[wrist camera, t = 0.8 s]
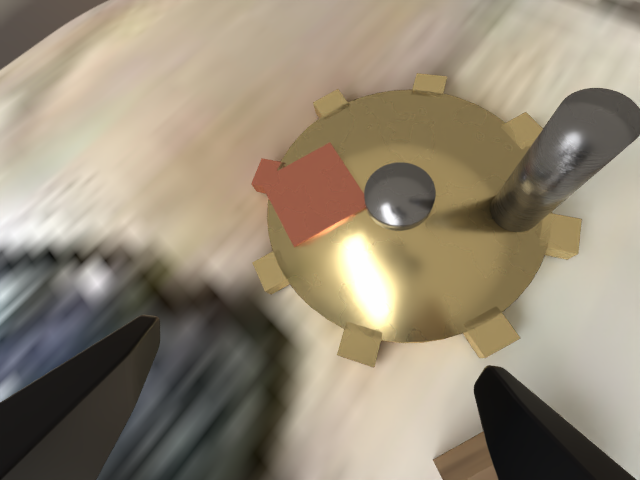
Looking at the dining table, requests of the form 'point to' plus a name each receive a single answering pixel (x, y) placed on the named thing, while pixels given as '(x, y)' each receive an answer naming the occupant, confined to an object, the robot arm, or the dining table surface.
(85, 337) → the dining table surface
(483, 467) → the block
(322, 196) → the sprocket
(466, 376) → the dining table surface
